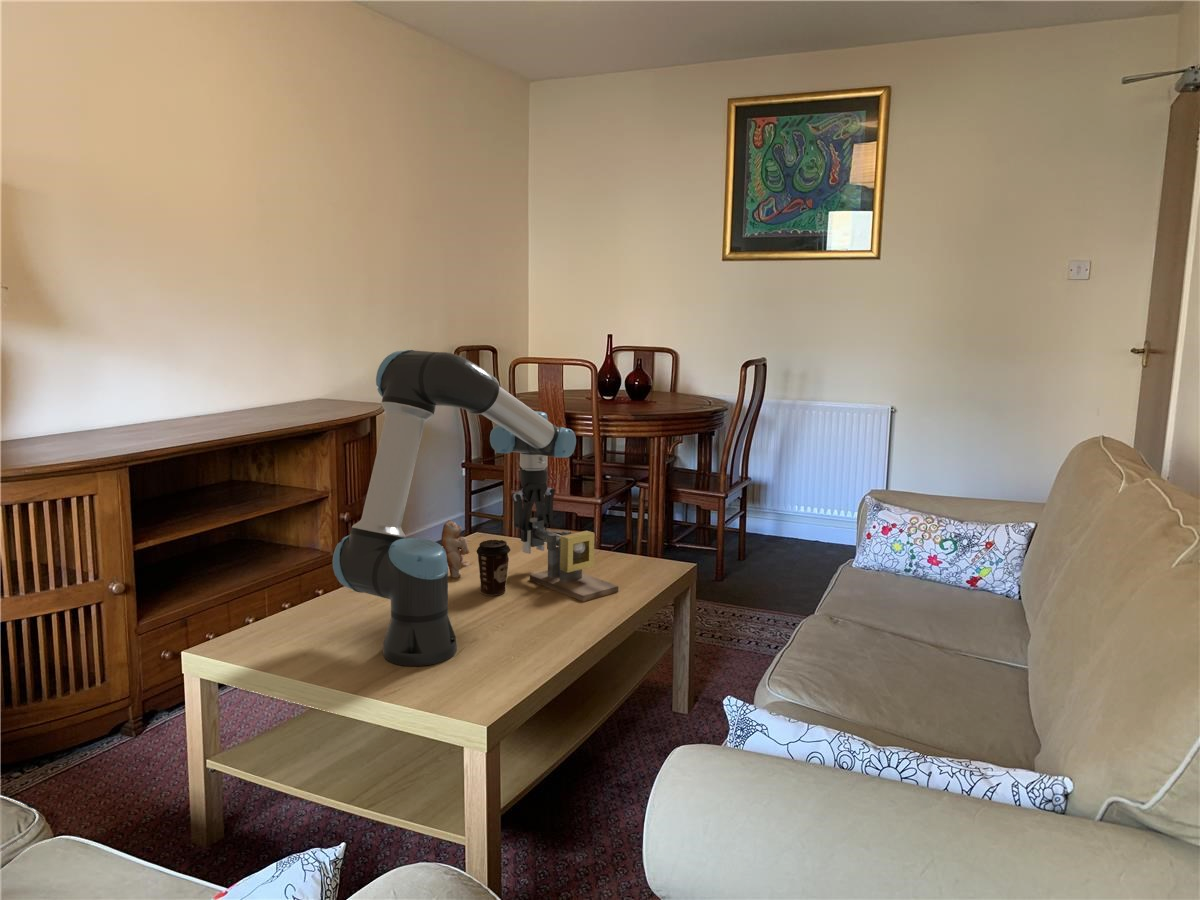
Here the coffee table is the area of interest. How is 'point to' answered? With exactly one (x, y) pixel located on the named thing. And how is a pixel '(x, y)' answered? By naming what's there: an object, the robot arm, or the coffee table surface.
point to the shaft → (541, 535)
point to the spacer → (567, 551)
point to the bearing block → (570, 576)
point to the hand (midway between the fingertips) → (533, 550)
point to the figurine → (454, 548)
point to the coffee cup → (493, 566)
